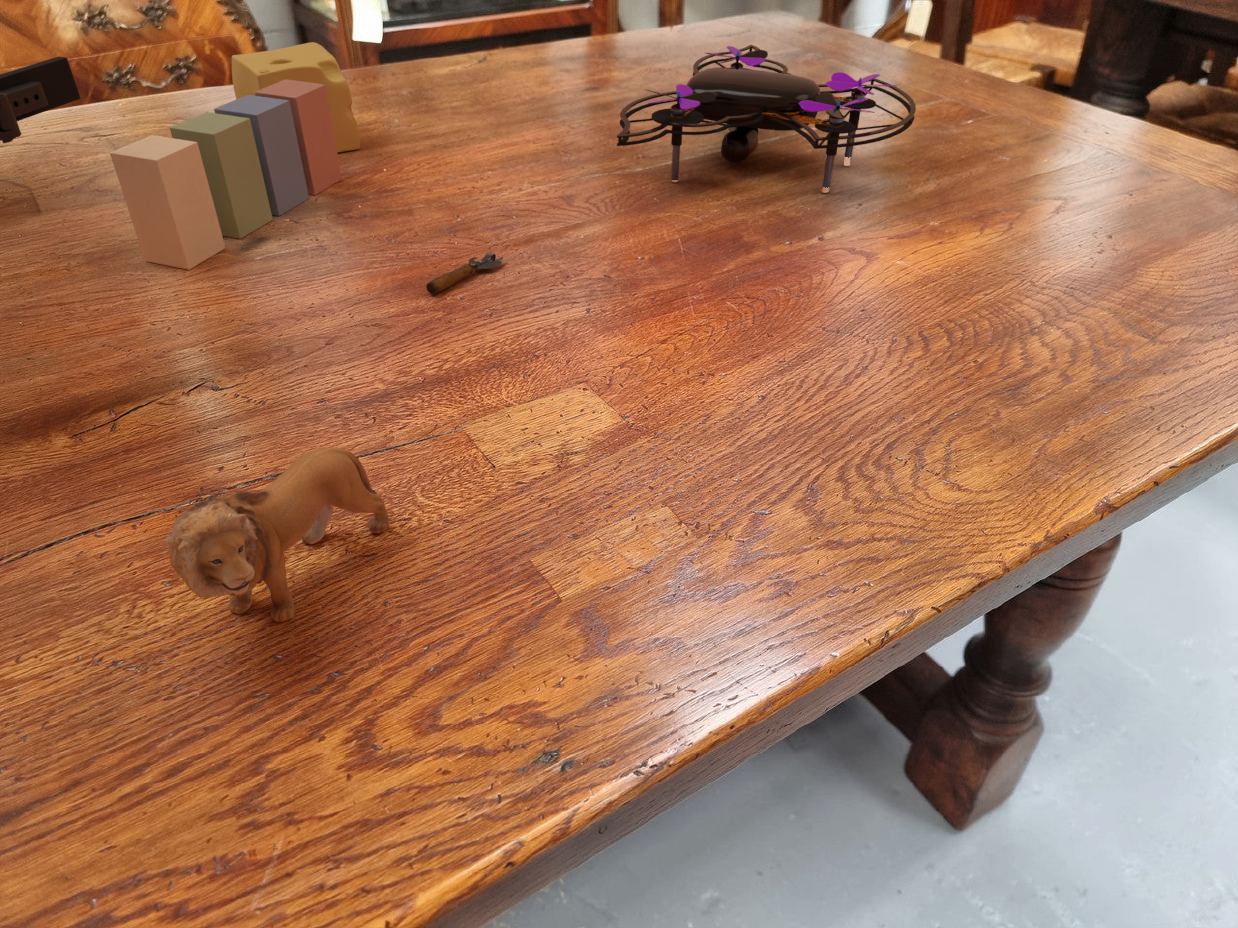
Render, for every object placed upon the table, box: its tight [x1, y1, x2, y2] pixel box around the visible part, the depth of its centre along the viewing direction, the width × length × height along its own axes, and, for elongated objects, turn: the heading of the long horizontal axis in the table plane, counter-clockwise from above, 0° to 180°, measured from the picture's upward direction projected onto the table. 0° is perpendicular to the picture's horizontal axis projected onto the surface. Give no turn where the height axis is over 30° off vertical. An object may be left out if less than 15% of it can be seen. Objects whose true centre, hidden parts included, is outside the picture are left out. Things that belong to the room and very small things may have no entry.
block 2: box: [169, 111, 274, 240], centre depth 88 cm, size 5×5×10 cm
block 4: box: [255, 79, 343, 196], centre depth 97 cm, size 5×5×10 cm
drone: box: [616, 44, 917, 188], centre depth 102 cm, size 40×10×28 cm
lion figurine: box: [165, 447, 390, 623], centre depth 50 cm, size 15×5×9 cm, turn 161°
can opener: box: [425, 251, 504, 295], centre depth 82 cm, size 9×2×1 cm, turn 139°
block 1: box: [109, 134, 226, 271], centre depth 83 cm, size 5×5×10 cm
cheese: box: [231, 41, 361, 153], centre depth 107 cm, size 10×11×10 cm
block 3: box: [213, 95, 310, 217], centre depth 93 cm, size 5×5×10 cm
